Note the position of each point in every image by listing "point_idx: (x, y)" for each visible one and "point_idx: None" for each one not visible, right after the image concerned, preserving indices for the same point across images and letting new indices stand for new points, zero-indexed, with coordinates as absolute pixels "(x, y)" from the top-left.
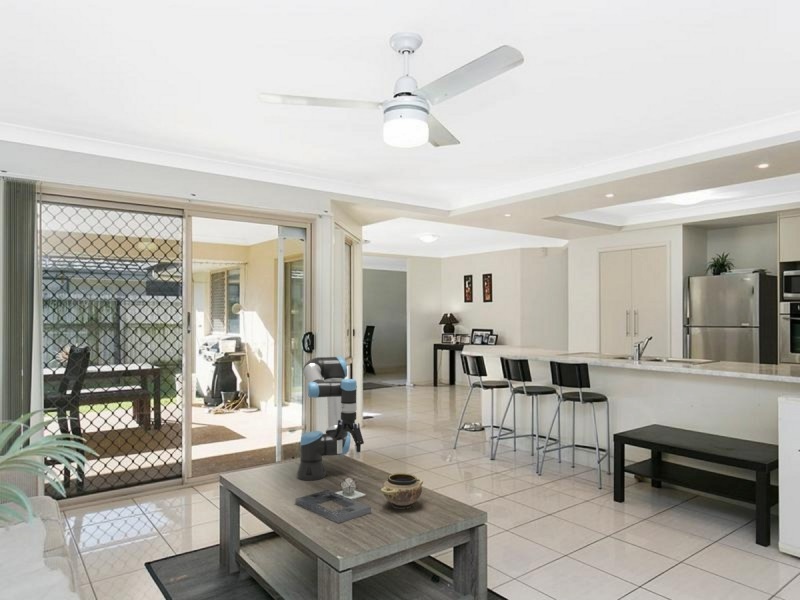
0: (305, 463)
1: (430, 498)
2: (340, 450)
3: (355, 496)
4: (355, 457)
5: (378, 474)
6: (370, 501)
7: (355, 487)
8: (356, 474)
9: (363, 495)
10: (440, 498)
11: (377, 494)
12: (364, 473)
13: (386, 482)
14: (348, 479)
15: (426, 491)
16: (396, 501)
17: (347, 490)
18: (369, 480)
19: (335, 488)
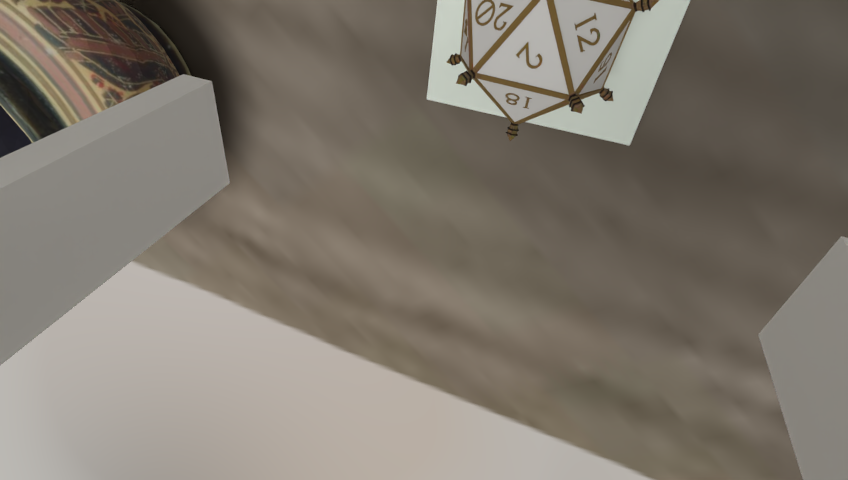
0: None
1: (168, 238)
2: (811, 348)
3: (454, 3)
4: (159, 88)
5: (629, 444)
6: (311, 8)
7: (462, 52)
8: (783, 424)
9: (430, 75)
10: (148, 255)
11: (386, 161)
12: (732, 446)
13: (10, 37)
14: (521, 42)
15: (253, 307)
16: None
17: None
18: (615, 354)
19: (797, 102)
